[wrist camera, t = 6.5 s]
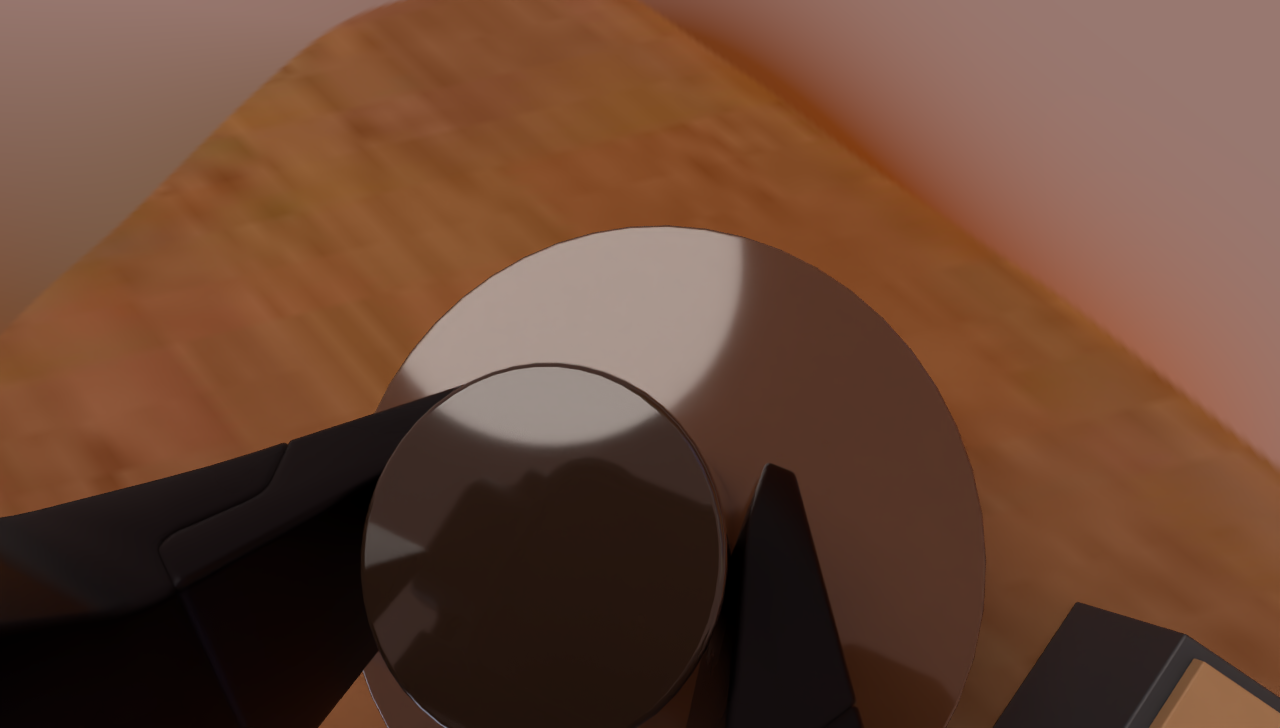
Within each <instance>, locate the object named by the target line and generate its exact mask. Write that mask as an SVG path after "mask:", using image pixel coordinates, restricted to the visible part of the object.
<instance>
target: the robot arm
mask: <svg viewBox="0 0 1280 728" xmlns="http://www.w3.org/2000/svg"><path fill="white" fill-rule="evenodd" d="M463 385H465V384H463ZM463 385H460V386H457V387H454V388H451V389H448V390H445V391H442V392H439V393H436V394H433V395H430V396H427V397H423V398H420V399H417V400H414V401H411V402H408V403H405V404H402V405H399V406H396V407H393V408H390V409H387V410H383V411H380V412H377V413H374V414H371V415H368V416H365V417H362V418H359V419H356V420H353V421H350V422H346V423H343V424H340V425H337V426H334V427H331V428H328V429H325V430H322V431H319V432H316V433H313V434H310V435H306V436H303V437H300V438H297V439H294V440H291V441H290V442H289V444H286V443H281V444H278V445H275V446H272V447H269V448H266V449H263V450H260V451H257V452H254V453H250V454H247V455H244V456H240V457H237V458H234V459H231V460H227V461H224V462H221V463H217V464H214V465H211V466H207V467H204V468H200V469H196V470H192V471H189V472H185V473H181V474H178V475H174V476H170V477H167V478H163V479H159V480H155V481H151V482H147V483H143V484H139V485H135V486H132V487H128V488H124V489H120V490H116V491H112V492H108V493H104V494H100V495H96V496H92V497H88V498H84V499H80V500H76V501H72V502H68V503H64V504H61V505H57V506H53V507H49V508H45V509H41V510H37V511H32V512H28V513H23V514H19V515H14V516H8V517H1V518H0V728H318V727H319V726H320V725H321V723H322V722H323V721H324V719H325V718H326V717H327V716H328V714H329V713H330V712H331V711H332V709H333V708H334V707H335V706H336V704H337V703H338V702H339V700H340V699H341V698H342V697H343V695H344V694H345V693H346V692H347V690H348V689H349V688H350V686H351V685H352V684H353V683H354V681H355V680H356V679H357V678H358V676H359V675H360V674H361V673H362V671H363V670H364V669H365V667H366V666H367V665H368V664H369V662H370V661H371V660H372V659H373V657H374V656H375V655H376V654H377V652H378V651H379V650H378V648H377V645H376V643H375V640H374V637H373V634H372V632H371V629H370V626H369V623H368V618H367V614H366V610H365V605H364V601H363V593H362V583H361V546H362V538H363V530H364V524H365V520H366V516H367V512H368V508H369V504H370V501H371V498H372V495H373V492H374V490H375V487H376V484H377V482H378V479H379V477H380V475H381V473H382V471H383V469H384V467H385V465H386V463H387V461H388V459H389V458H390V456H391V455H392V453H393V452H394V450H395V449H396V447H397V446H398V444H399V443H400V441H401V439H402V438H403V437H404V436H405V435H406V433H407V432H408V431H409V430H410V429H411V427H412V426H413V425H414V424H415V423H416V422H417V421H418V420H419V419H420V418H421V417H422V416H423V415H424V414H425V413H426V412H427V411H428V410H429V409H430V408H431V407H432V406H433V405H435V404H436V403H438V402H439V401H440V400H442V399H443V398H444V397H446V396H447V395H448V394H450V393H451V392H452V391H454V390H456V389H458V388H459V387H461V386H463ZM856 703H857V700H856V696H855V692H854V688H853V685H852V681H851V677H850V674H849V670H848V666H847V663H846V659H845V655H844V651H843V648H842V644H841V640H840V637H839V633H838V629H837V626H836V622H835V618H834V614H833V611H832V607H831V603H830V600H829V596H828V592H827V588H826V585H825V581H824V577H823V574H822V570H821V566H820V563H819V559H818V555H817V551H816V548H815V544H814V540H813V537H812V533H811V529H810V526H809V522H808V518H807V514H806V511H805V507H804V503H803V500H802V496H801V492H800V489H799V485H798V481H797V478H796V475H795V473H794V472H792V471H791V470H788V469H785V468H783V467H780V466H778V465H775V464H772V463H767V464H765V466H764V468H763V470H762V473H761V475H760V478H759V481H758V483H757V486H756V488H755V491H754V494H753V496H752V499H751V502H750V504H749V507H748V510H747V512H746V515H745V518H744V521H743V523H742V526H741V529H740V532H739V535H738V537H737V540H736V543H735V546H734V549H733V551H732V554H731V558H730V564H729V571H728V577H727V583H726V589H725V595H724V599H723V603H722V607H721V611H720V614H719V618H718V622H717V625H716V627H715V630H714V632H713V635H712V637H711V640H710V642H709V644H708V647H707V649H706V651H705V653H704V654H703V656H702V658H701V661H700V666H699V670H698V675H697V679H696V684H695V688H694V693H693V698H692V702H691V707H690V711H689V716H688V721H687V725H686V728H864V724H863V721H862V717H861V713H860V710H859V708H858V707H856V706H855V705H856Z"/></svg>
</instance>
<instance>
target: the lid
mask: <svg viewBox="0 0 1280 728" xmlns="http://www.w3.org/2000/svg"><path fill="white" fill-rule="evenodd" d="M463 384H465V385H463ZM460 385H463V386H461V387H459V388H458V389H456V390H454V391H452V392H451V393H450V394H448V395H447V396H446V397H444V398H443V399H442V400H440V401H439V402H438V403H436V404H435V405H433V406H432V407H431V408H430V409H429V410H428V411H427V412H426V413H425V414H424V415H423V416H422V417H421V418H420V419H419V420H418V421H417V422H416V423H415V424H414V425H413V426H412V427H411V429H410V430H409V431H408V432H407V433H406V435H405V436H404V437H403V438H402V439H401V441H400V443H399V444H398V446H397V447H396V449H395V450H394V452H393V453H392V455H391V456H390V458H389V459H388V461H387V463H386V465H385V467H384V469H383V471H382V473H381V475H380V477H379V479H378V482H377V484H376V487H375V490H374V492H373V495H372V498H371V501H370V504H369V508H368V512H367V516H366V520H365V524H364V530H363V538H362V546H361V583H362V593H363V601H364V605H365V610H366V614H367V618H368V623H369V626H370V629H371V632H372V634H373V637H374V640H375V643H376V645H377V648H378V650H379V651H378V652H377V654H376V655H375V656H374V657H373V659H372V660H371V661H370V662H369V664H368V665H367V666H366V667H365V669H364V670H363V674H364V677H365V679H366V682H367V685H368V688H369V691H370V693H371V696H372V698H373V700H374V702H375V704H376V706H377V708H378V710H379V712H380V714H381V716H382V718H383V720H384V722H385V724H386V726H387V728H686V725H687V721H688V716H689V711H690V707H691V702H692V698H693V693H694V688H695V684H696V679H697V675H698V670H699V666H700V661H701V658H702V656H703V654H704V653H705V651H706V649H707V647H708V644H709V642H710V640H711V637H712V635H713V632H714V630H715V627H716V625H717V622H718V618H719V614H720V611H721V607H722V603H723V599H724V595H725V589H726V583H727V577H728V571H729V564H730V558H731V554H732V551H733V549H734V546H735V543H736V540H737V537H738V535H739V532H740V529H741V526H742V523H743V521H744V518H745V515H746V512H747V510H748V507H749V504H750V502H751V499H752V496H753V494H754V491H755V488H756V486H757V483H758V481H759V478H760V475H761V473H762V470H763V468H764V466H765V464H767V463H772V464H775V465H778V466H780V467H783V468H785V469H788V470H791V471H792V472H794V473H795V475H796V478H797V481H798V485H799V489H800V492H801V496H802V500H803V503H804V507H805V511H806V514H807V518H808V522H809V526H810V529H811V533H812V537H813V540H814V544H815V548H816V551H817V555H818V559H819V563H820V566H821V570H822V574H823V577H824V581H825V585H826V588H827V592H828V596H829V600H830V603H831V607H832V611H833V614H834V618H835V622H836V626H837V629H838V633H839V637H840V640H841V644H842V648H843V651H844V655H845V659H846V663H847V666H848V670H849V674H850V677H851V681H852V685H853V688H854V692H855V696H856V700H857V703H856V705H855V706H856V707H858V708H859V710H860V713H861V717H862V721H863V724H864V728H946V726H947V724H948V722H949V721H950V719H951V717H952V715H953V713H954V711H955V709H956V707H957V705H958V703H959V700H960V697H961V694H962V691H963V688H964V686H965V683H966V680H967V677H968V674H969V671H970V668H971V665H972V663H973V660H974V656H975V651H976V646H977V641H978V636H979V631H980V625H981V620H982V615H983V610H984V592H985V574H986V554H985V542H984V529H983V517H982V511H981V506H980V502H979V497H978V493H977V488H976V483H975V479H974V474H973V469H972V467H971V464H970V461H969V458H968V455H967V453H966V450H965V447H964V444H963V441H962V439H961V436H960V433H959V430H958V428H957V425H956V423H955V421H954V419H953V417H952V415H951V413H950V412H949V410H948V408H947V406H946V404H945V402H944V400H943V398H942V396H941V394H940V392H939V390H938V388H937V386H936V385H935V383H934V382H933V380H932V379H931V377H930V376H929V375H928V373H927V372H926V370H925V369H924V367H923V366H922V364H921V363H920V362H919V360H918V359H917V357H916V356H915V354H914V353H913V351H912V350H911V349H910V348H909V347H908V345H907V344H906V343H905V342H904V341H903V340H902V339H901V338H900V337H899V335H898V334H897V333H896V332H895V331H894V330H893V329H892V328H891V326H890V325H889V324H888V323H887V322H886V321H885V320H884V319H883V318H882V317H881V316H880V315H879V314H878V313H877V312H875V311H874V310H873V309H872V308H871V307H870V306H868V305H867V304H866V303H865V302H864V301H863V300H862V299H860V298H859V297H858V296H857V295H856V294H855V293H853V292H852V291H851V290H850V289H848V288H847V287H845V286H844V285H842V284H841V283H839V282H838V281H836V280H835V279H833V278H832V277H830V276H829V275H827V274H826V273H824V272H823V271H821V270H820V269H818V268H816V267H814V266H812V265H810V264H808V263H806V262H804V261H802V260H800V259H798V258H796V257H794V256H792V255H790V254H788V253H786V252H784V251H782V250H780V249H777V248H774V247H771V246H768V245H765V244H763V243H760V242H757V241H754V240H751V239H748V238H745V237H742V236H737V235H732V234H728V233H723V232H718V231H714V230H709V229H702V228H691V227H679V226H640V227H626V228H620V229H614V230H608V231H601V232H595V233H591V234H587V235H584V236H581V237H577V238H574V239H570V240H567V241H563V242H560V243H557V244H554V245H552V246H550V247H547V248H545V249H543V250H540V251H538V252H535V253H533V254H531V255H528V256H526V257H524V258H522V259H520V260H519V261H517V262H515V263H513V264H511V265H510V266H508V267H506V268H504V269H503V270H501V271H499V272H497V273H496V274H494V275H492V276H491V277H490V278H488V279H487V280H485V281H484V282H483V283H481V284H480V285H479V286H477V287H476V288H475V289H473V290H472V291H471V292H469V293H468V294H466V295H465V296H464V297H462V298H461V299H460V300H459V301H458V302H457V303H456V304H455V305H454V306H453V307H452V308H451V309H450V310H449V311H447V312H446V313H445V314H444V315H443V316H442V317H441V318H440V319H439V320H438V321H437V322H436V323H435V324H434V325H433V326H432V327H431V329H430V330H429V331H428V332H427V333H426V335H425V336H424V337H423V338H422V339H421V340H420V342H419V343H418V344H417V345H416V346H415V348H414V349H413V350H412V351H411V352H410V354H409V355H408V357H407V358H406V360H405V361H404V363H403V364H402V366H401V367H400V369H399V370H398V372H397V373H396V375H395V376H394V378H393V379H392V381H391V383H390V384H389V386H388V388H387V390H386V392H385V394H384V396H383V398H382V400H381V402H380V404H379V406H378V408H377V410H376V412H375V413H377V412H380V411H383V410H387V409H390V408H393V407H396V406H399V405H402V404H405V403H408V402H411V401H414V400H417V399H420V398H423V397H427V396H430V395H433V394H436V393H439V392H442V391H445V390H448V389H451V388H454V387H457V386H460Z"/></svg>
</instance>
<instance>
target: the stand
mask: <svg viewBox="0 0 1280 728" xmlns="http://www.w3.org/2000/svg"><path fill="white" fill-rule="evenodd" d="M993 728H1280V697H1278V696H1277V695H1275V694H1274V693H1272V692H1271V691H1269V690H1268V689H1266V688H1265V687H1263V686H1262V685H1260V684H1259V683H1257V682H1256V681H1254V680H1253V679H1251V678H1250V677H1248V676H1247V675H1246V674H1244V673H1243V672H1241V671H1240V670H1238V669H1237V668H1235V667H1234V666H1232V665H1231V664H1229V663H1228V662H1226V661H1225V660H1223V659H1222V658H1220V657H1219V656H1217V655H1216V654H1214V653H1213V652H1212V651H1210V650H1209V649H1207V648H1206V647H1204V646H1203V645H1201V644H1200V643H1198V642H1197V641H1195V640H1194V639H1192V638H1191V637H1189V636H1188V635H1186V634H1183V633H1180V632H1176V631H1173V630H1170V629H1166V628H1163V627H1160V626H1156V625H1153V624H1150V623H1146V622H1143V621H1140V620H1136V619H1133V618H1130V617H1126V616H1123V615H1120V614H1116V613H1113V612H1110V611H1106V610H1103V609H1100V608H1096V607H1093V606H1090V605H1086V604H1083V603H1079V602H1077V603H1076V604H1075V605H1074V607H1073V608H1072V610H1071V611H1070V613H1069V614H1068V616H1067V617H1066V619H1065V620H1064V622H1063V623H1062V625H1061V626H1060V628H1059V629H1058V631H1057V632H1056V634H1055V635H1054V637H1053V638H1052V640H1051V641H1050V643H1049V644H1048V646H1047V647H1046V649H1045V650H1044V652H1043V653H1042V655H1041V656H1040V658H1039V659H1038V661H1037V662H1036V664H1035V665H1034V667H1033V668H1032V670H1031V671H1030V673H1029V674H1028V676H1027V677H1026V679H1025V680H1024V682H1023V683H1022V685H1021V686H1020V688H1019V689H1018V691H1017V692H1016V694H1015V695H1014V697H1013V698H1012V700H1011V701H1010V703H1009V704H1008V706H1007V707H1006V709H1005V710H1004V712H1003V713H1002V715H1001V716H1000V718H999V719H998V721H997V722H996V724H995V725H994V727H993Z"/></svg>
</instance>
